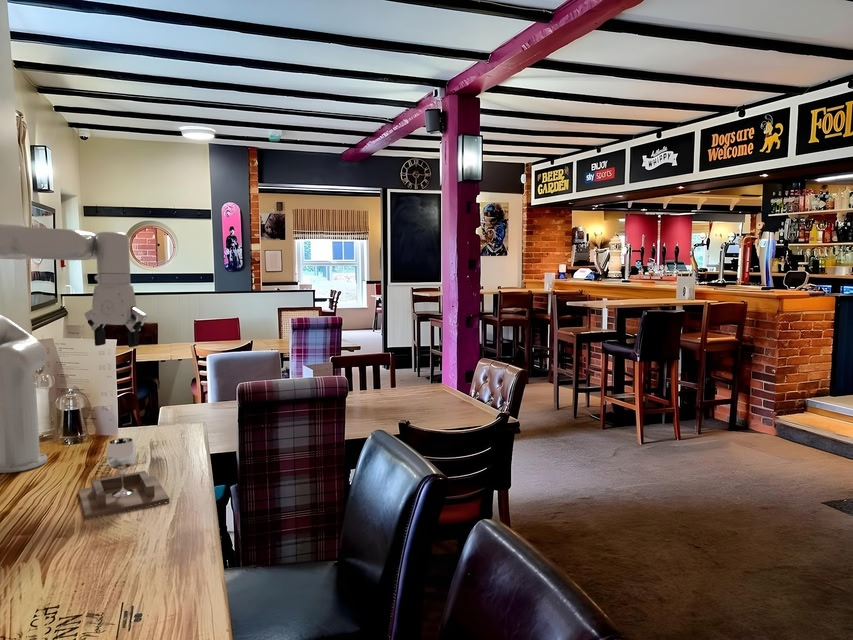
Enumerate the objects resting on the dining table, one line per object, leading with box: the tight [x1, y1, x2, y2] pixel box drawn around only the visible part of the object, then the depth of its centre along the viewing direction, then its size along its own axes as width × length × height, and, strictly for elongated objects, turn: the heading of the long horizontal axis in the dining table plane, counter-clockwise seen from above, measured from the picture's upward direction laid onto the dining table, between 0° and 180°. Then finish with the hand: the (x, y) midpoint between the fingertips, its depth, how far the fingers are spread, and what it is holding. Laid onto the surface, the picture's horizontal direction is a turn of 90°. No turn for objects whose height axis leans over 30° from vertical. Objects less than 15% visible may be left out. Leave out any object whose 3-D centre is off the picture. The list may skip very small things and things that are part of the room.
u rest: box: [78, 470, 170, 520], centre depth 133 cm, size 16×16×4 cm
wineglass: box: [106, 437, 137, 497], centre depth 132 cm, size 6×6×12 cm
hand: (116, 345), depth 155 cm, fingers open, 9 cm apart
